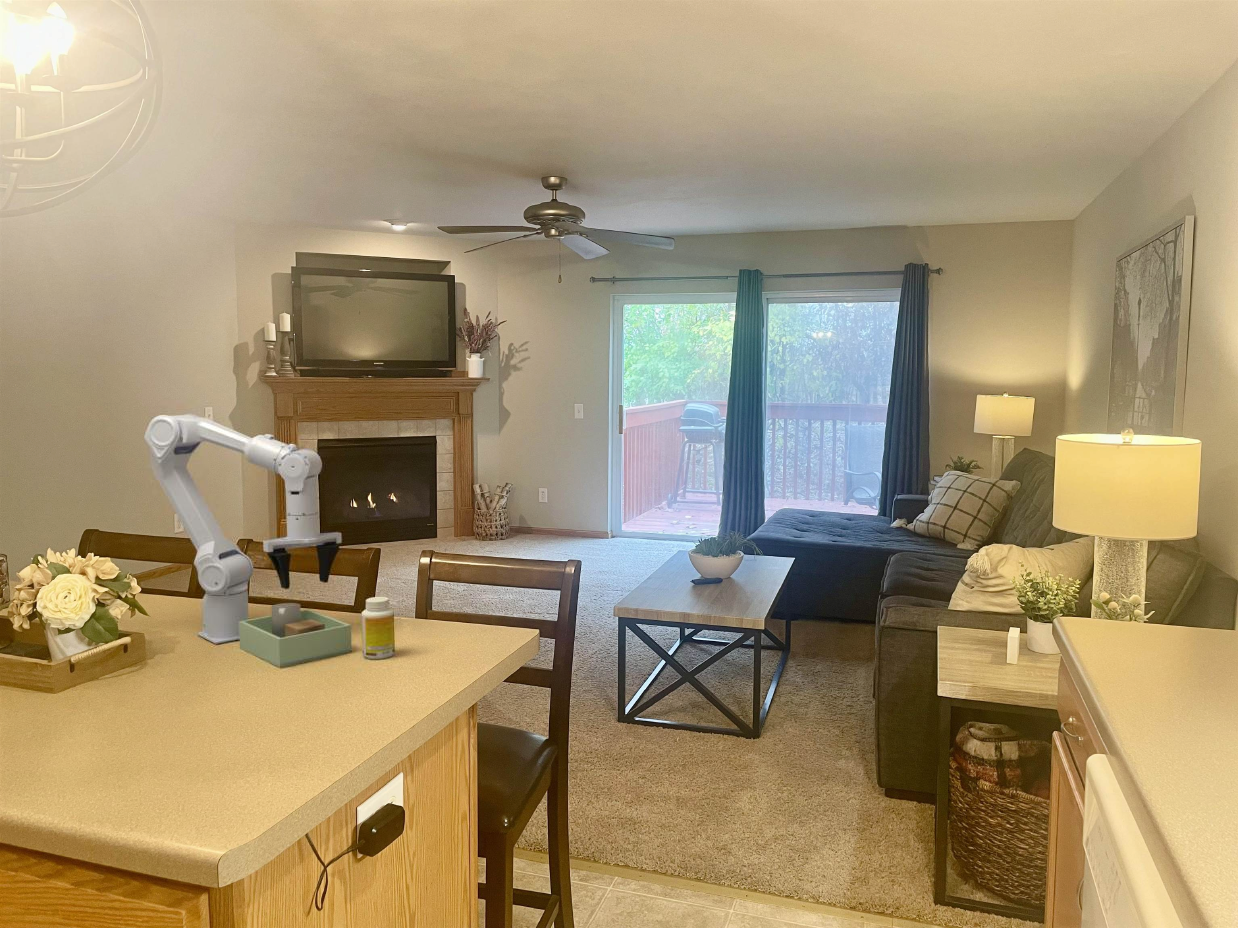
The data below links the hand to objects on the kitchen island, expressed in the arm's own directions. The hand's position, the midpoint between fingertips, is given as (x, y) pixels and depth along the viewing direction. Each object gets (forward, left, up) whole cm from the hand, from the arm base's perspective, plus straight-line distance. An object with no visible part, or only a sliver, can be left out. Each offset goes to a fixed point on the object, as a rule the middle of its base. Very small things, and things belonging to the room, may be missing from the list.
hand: (304, 584), depth 169 cm
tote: (+6, -5, -10) cm, 13 cm away
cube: (+10, -5, -10) cm, 15 cm away
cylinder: (+3, -5, -10) cm, 11 cm away
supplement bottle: (+20, +4, -11) cm, 23 cm away
